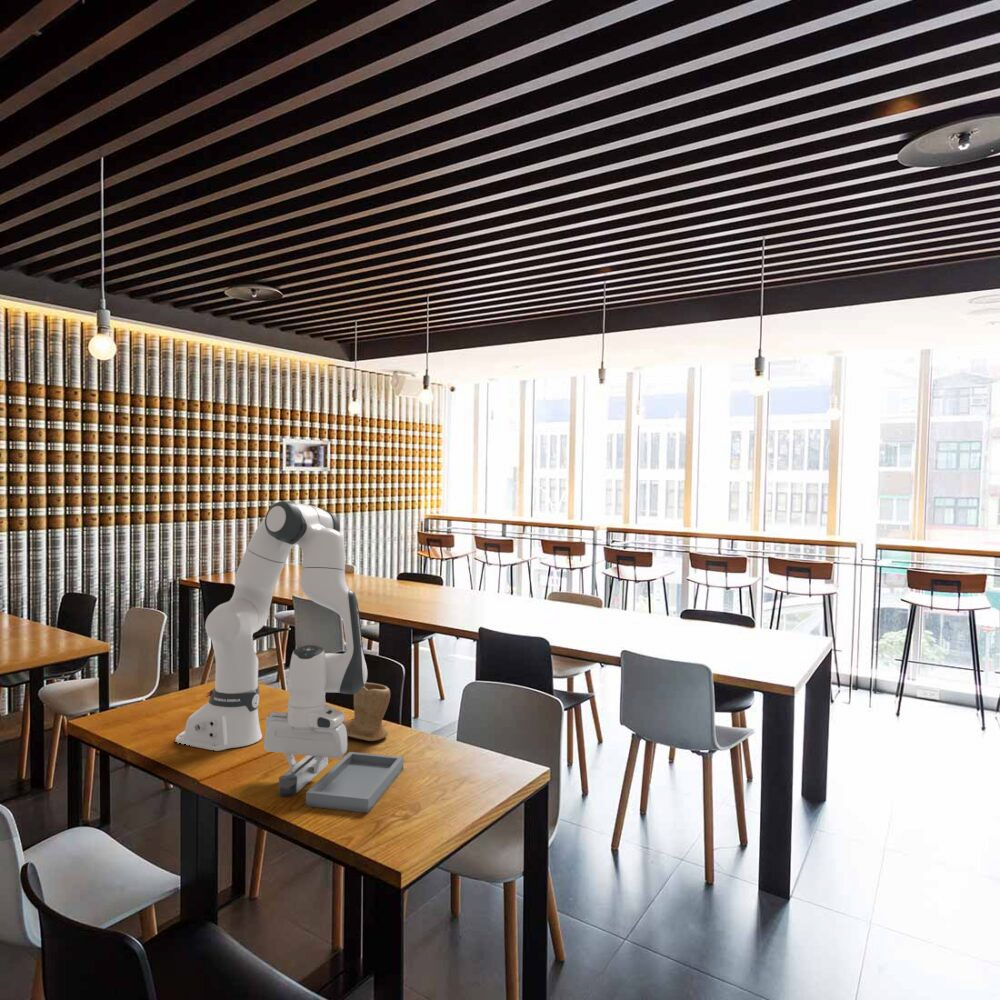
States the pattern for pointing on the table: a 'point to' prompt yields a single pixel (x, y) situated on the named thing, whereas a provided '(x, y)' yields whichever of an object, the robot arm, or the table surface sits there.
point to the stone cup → (369, 713)
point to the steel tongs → (299, 776)
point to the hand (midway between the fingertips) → (304, 771)
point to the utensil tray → (355, 782)
